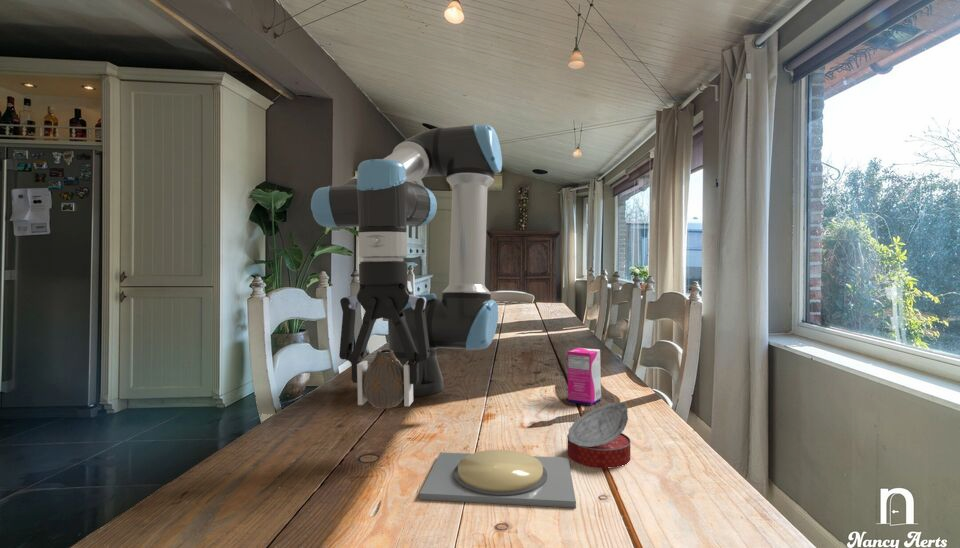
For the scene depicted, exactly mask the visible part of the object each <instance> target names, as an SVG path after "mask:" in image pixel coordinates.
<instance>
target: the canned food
mask: <svg viewBox="0 0 960 548" xmlns="http://www.w3.org/2000/svg"><path fill="white" fill-rule="evenodd" d="M628 416H629V415H628V407H627V406H626V404H624V403H622V402H617V401H616V402H615V401H614V402H611V403H605V404H603V405H601V406H598V407H595V408H593V409H592V410H590V411H588V412H586V413H584V414H583V415H581V416H580V417H579V418H577V419H576V420H575V421H574V422H573V423H572V425H571V426H570V427H569V429H568V434H567V456H568V457H567V458H568V459H570V460H571V461H573V462H574V463H577V464H579V465H583V466H585V467H589V468H596V469H609V468H608V467H617V466H622V465H624V466H626V465H628V464H629V463H630V462H629V461H631V444H632V443H631V442H632V441H631V439H630V437H629V436H627V435H626V434H625V433H623V432H624V430H625V428H626V426H627V424H628V420H629V417H628ZM628 462H629V463H628ZM627 463H628V464H627ZM625 464H626V465H625ZM622 467H623V466H622ZM617 468H618V467H617Z"/></svg>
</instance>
